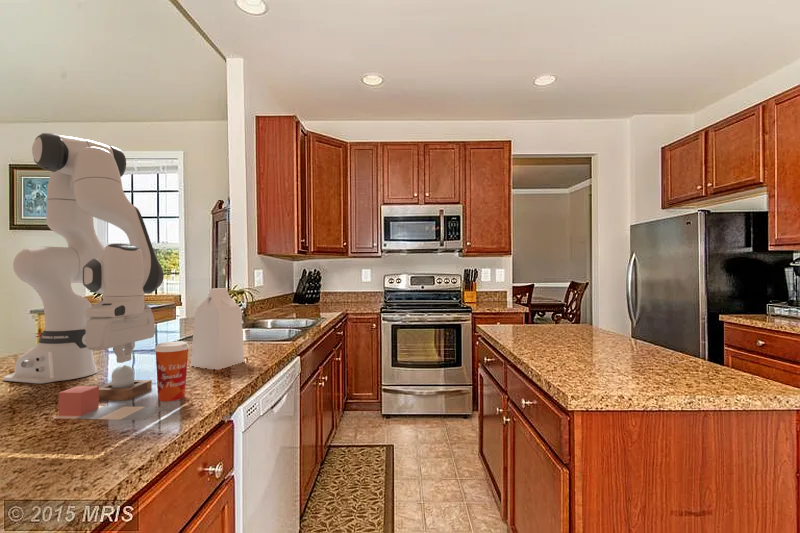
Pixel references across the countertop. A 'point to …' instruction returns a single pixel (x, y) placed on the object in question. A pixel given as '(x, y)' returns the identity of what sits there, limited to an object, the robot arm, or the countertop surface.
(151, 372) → the countertop surface
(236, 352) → the milk
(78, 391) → the red block
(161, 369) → the paper cup
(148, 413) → the track
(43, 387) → the countertop surface
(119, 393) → the button box
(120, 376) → the dome
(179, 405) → the countertop surface
